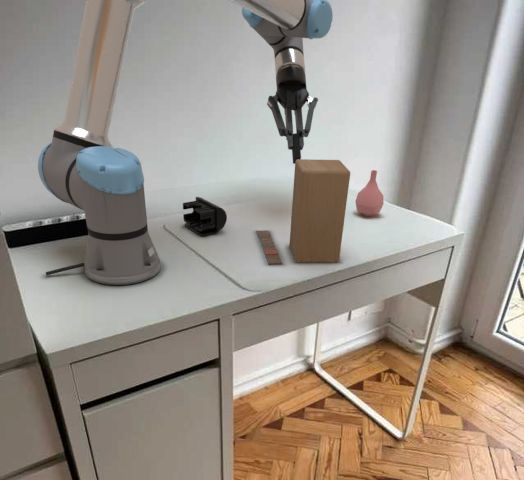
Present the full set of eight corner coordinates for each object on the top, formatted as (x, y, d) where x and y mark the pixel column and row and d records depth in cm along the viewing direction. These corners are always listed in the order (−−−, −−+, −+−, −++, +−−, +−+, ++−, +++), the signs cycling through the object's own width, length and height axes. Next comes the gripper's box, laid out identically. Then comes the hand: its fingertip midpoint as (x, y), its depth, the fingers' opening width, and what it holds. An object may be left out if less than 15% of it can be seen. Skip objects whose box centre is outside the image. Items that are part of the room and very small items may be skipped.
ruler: (256, 232, 126) (256, 230, 126) (268, 232, 126) (268, 230, 126) (268, 264, 110) (268, 262, 109) (282, 264, 110) (282, 262, 110)
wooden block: (330, 245, 120) (340, 159, 109) (339, 263, 112) (351, 171, 101) (289, 246, 119) (295, 158, 108) (295, 263, 111) (302, 170, 100)
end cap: (227, 232, 125) (227, 205, 121) (202, 237, 122) (202, 210, 118) (206, 220, 132) (206, 195, 128) (182, 225, 128) (181, 199, 124)
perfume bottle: (364, 220, 136) (371, 175, 130) (348, 212, 142) (354, 168, 135) (387, 217, 139) (394, 173, 133) (370, 209, 145) (376, 166, 138)
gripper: (312, 86, 131) (319, 169, 127) (263, 84, 129) (268, 168, 126) (319, 65, 124) (326, 152, 120) (267, 63, 122) (273, 151, 118)
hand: (297, 160), depth 123 cm, fingers closed
